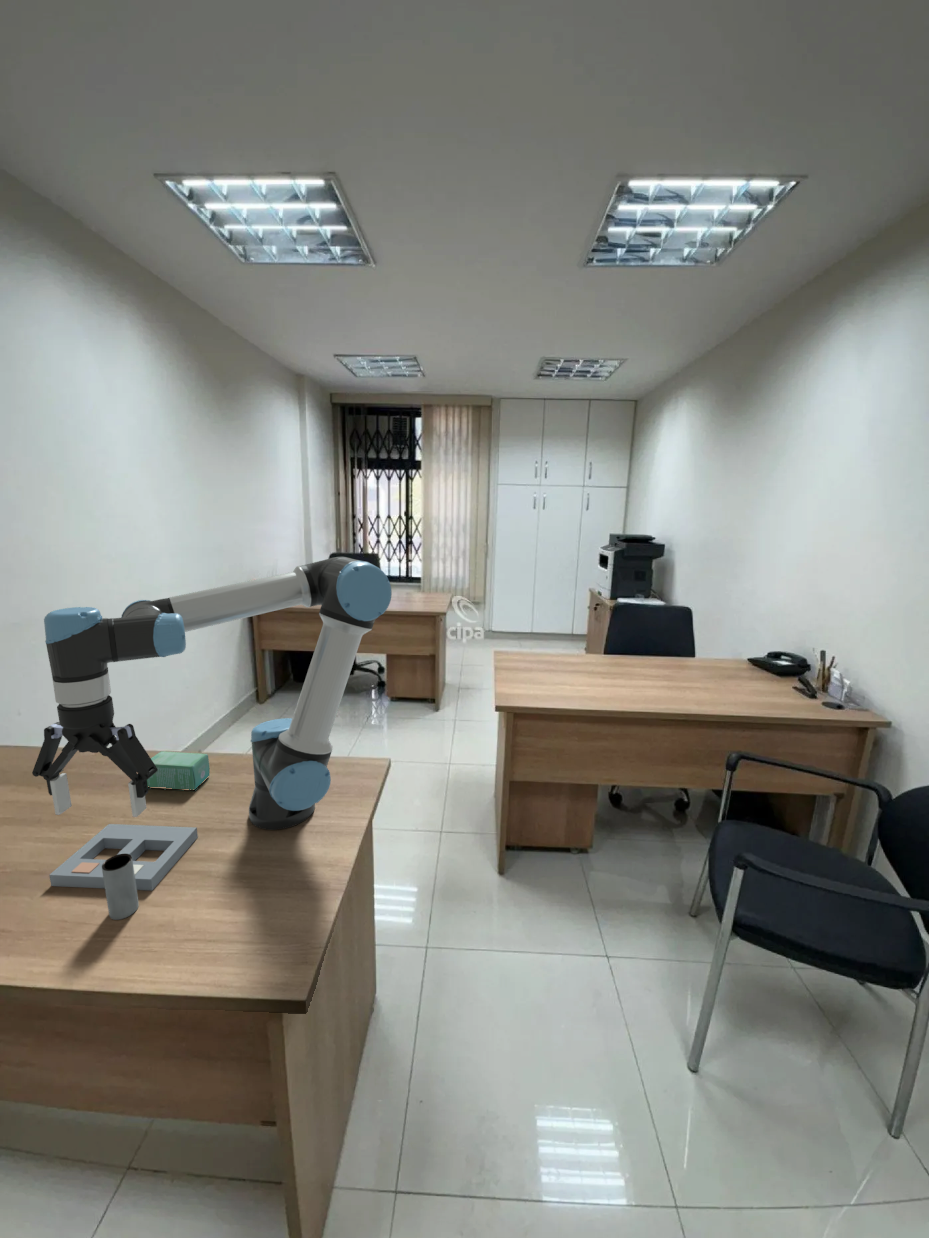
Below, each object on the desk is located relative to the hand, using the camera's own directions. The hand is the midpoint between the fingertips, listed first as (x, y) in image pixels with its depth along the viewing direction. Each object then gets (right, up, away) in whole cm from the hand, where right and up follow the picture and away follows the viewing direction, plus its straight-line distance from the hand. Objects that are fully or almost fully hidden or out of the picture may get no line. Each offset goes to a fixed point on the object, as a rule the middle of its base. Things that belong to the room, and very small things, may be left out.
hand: (101, 811), depth 90 cm
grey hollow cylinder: (+2, -19, +3) cm, 20 cm away
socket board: (-5, -16, +16) cm, 23 cm away
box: (-12, -10, +45) cm, 47 cm away
